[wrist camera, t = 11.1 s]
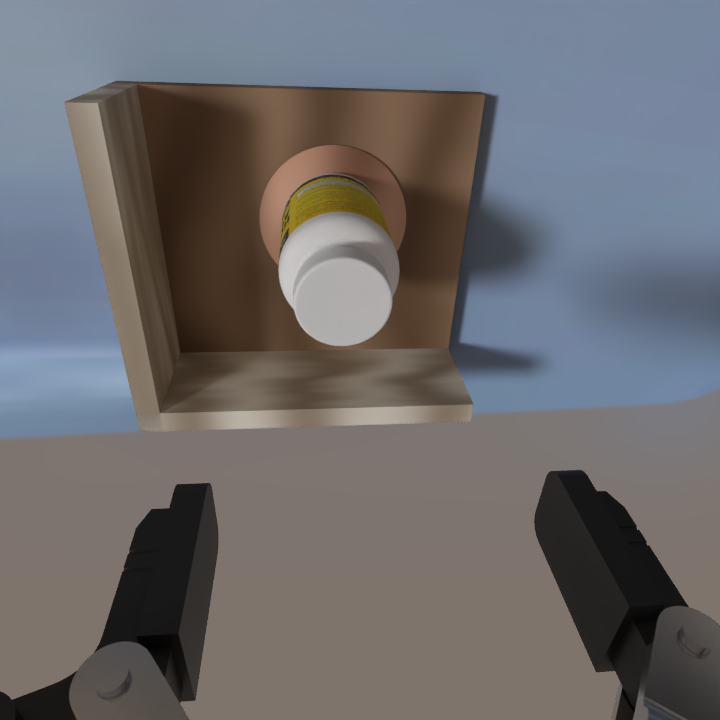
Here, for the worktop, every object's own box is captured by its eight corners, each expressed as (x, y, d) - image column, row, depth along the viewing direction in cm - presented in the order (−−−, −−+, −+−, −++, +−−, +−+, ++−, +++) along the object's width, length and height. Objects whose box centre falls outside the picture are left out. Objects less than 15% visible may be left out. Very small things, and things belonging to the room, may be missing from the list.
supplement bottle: (270, 181, 28) (259, 254, 20) (372, 161, 28) (403, 225, 20) (294, 276, 31) (293, 372, 23) (387, 257, 31) (419, 347, 23)
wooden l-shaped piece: (479, 92, 28) (527, 114, 22) (442, 355, 37) (470, 421, 31) (115, 81, 26) (64, 102, 21) (166, 360, 35) (140, 431, 29)
